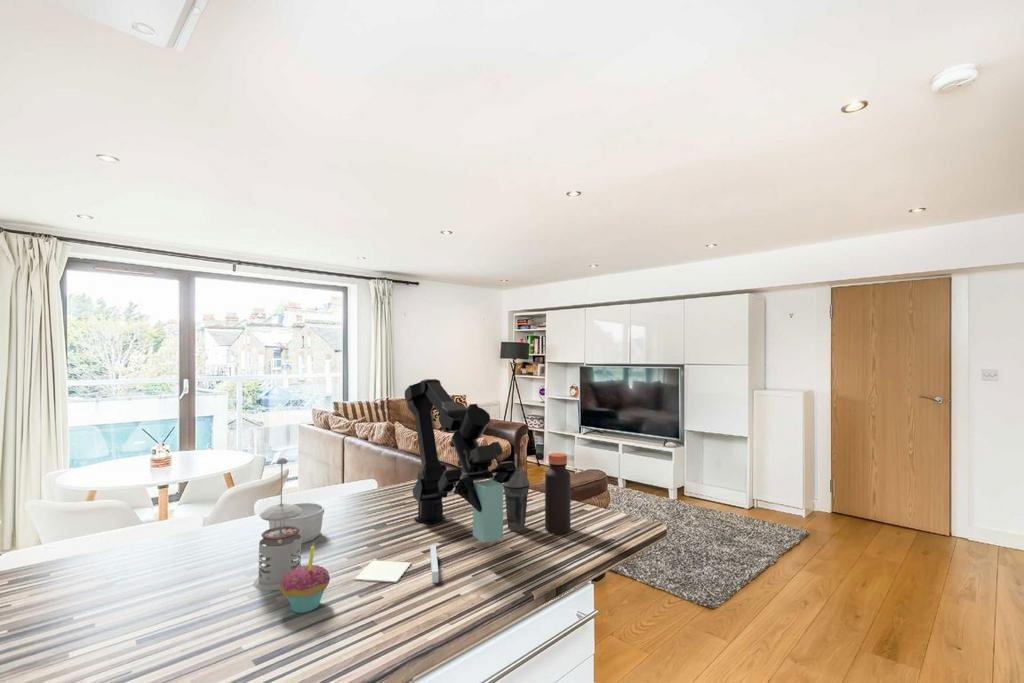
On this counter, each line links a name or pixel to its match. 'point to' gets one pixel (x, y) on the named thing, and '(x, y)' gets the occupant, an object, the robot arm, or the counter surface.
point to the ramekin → (304, 521)
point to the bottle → (557, 495)
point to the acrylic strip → (434, 564)
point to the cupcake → (305, 585)
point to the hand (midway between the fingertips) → (491, 508)
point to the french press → (277, 556)
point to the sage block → (488, 511)
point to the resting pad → (383, 571)
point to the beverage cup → (516, 499)
